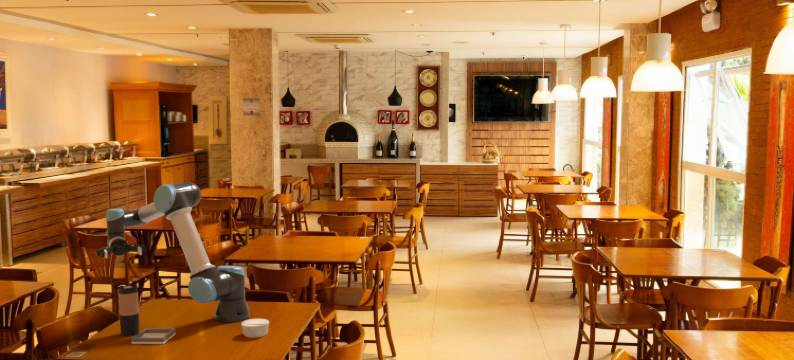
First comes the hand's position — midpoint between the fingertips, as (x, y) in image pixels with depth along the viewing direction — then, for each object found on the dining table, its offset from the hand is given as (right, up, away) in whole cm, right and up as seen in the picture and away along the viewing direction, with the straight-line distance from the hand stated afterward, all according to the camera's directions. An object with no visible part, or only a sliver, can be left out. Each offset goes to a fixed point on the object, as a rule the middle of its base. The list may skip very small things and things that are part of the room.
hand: (123, 253), depth 308 cm
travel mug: (+5, -33, -6) cm, 34 cm away
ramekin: (+58, -32, -11) cm, 67 cm away
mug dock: (+17, -33, -14) cm, 40 cm away
